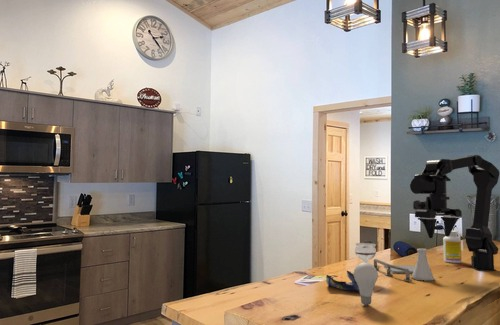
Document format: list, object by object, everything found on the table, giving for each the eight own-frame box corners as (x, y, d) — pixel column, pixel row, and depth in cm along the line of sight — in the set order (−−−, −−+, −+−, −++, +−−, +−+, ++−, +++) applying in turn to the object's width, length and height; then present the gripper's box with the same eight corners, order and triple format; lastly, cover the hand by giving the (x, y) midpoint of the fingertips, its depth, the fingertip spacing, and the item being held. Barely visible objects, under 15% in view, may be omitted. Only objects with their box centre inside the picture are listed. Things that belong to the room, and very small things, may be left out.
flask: (437, 282, 128) (436, 251, 128) (413, 280, 129) (412, 250, 130) (431, 277, 135) (430, 247, 136) (409, 276, 136) (408, 247, 137)
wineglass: (380, 281, 128) (379, 244, 129) (371, 284, 124) (370, 246, 124) (361, 277, 133) (360, 242, 134) (351, 281, 128) (350, 244, 129)
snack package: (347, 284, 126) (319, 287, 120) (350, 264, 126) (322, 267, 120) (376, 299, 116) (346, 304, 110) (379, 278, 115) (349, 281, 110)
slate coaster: (413, 267, 151) (412, 265, 151) (424, 273, 140) (424, 271, 140) (384, 267, 151) (384, 265, 151) (393, 273, 140) (393, 271, 140)
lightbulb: (350, 302, 104) (350, 260, 105) (372, 301, 105) (372, 260, 105) (359, 309, 98) (358, 265, 99) (382, 308, 99) (381, 264, 99)
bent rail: (376, 268, 149) (376, 258, 149) (413, 281, 128) (413, 269, 128) (368, 268, 148) (367, 258, 149) (403, 282, 127) (403, 270, 127)
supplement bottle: (464, 263, 160) (463, 231, 161) (448, 263, 160) (447, 231, 161) (456, 260, 166) (455, 230, 167) (440, 260, 167) (439, 230, 167)
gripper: (434, 193, 153) (436, 233, 152) (401, 193, 145) (402, 236, 143) (461, 193, 144) (463, 236, 143) (428, 194, 135) (429, 239, 134)
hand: (439, 237), depth 141 cm, fingers open, 9 cm apart
